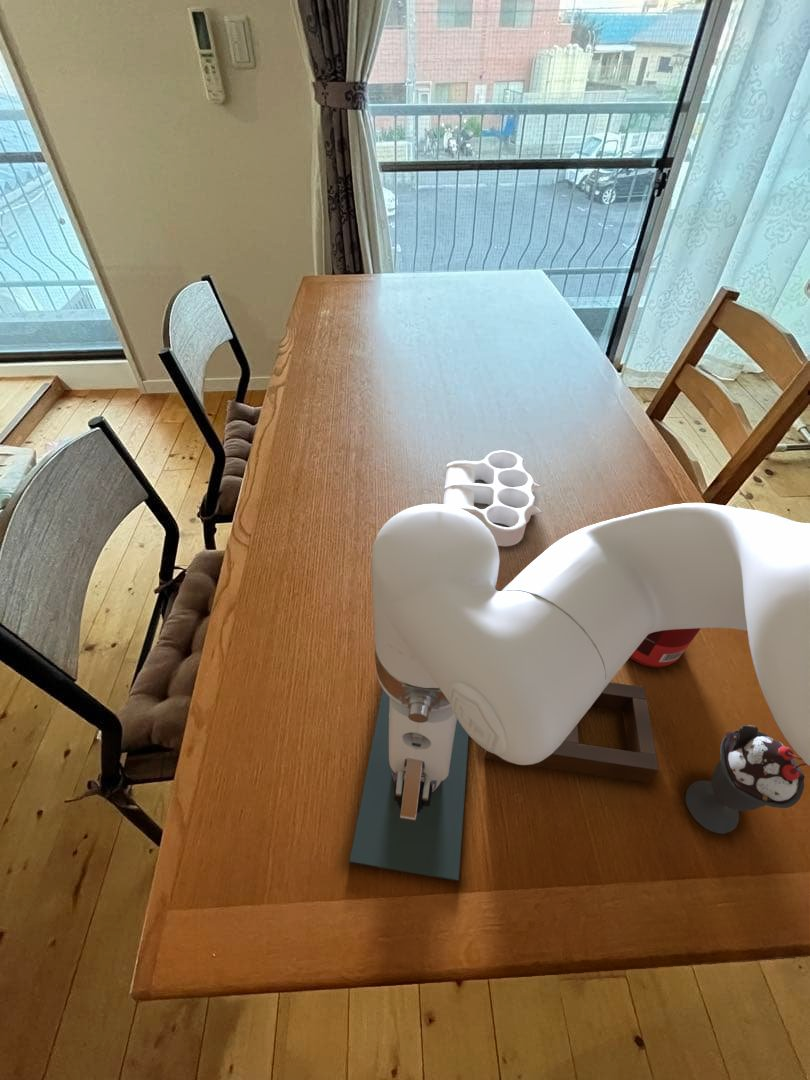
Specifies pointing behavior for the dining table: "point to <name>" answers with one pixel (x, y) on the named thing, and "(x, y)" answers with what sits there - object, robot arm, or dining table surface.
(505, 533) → the white brass knuckles
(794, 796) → the sundae
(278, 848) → the dining table surface
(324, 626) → the dining table surface
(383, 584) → the robot arm
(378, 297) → the dining table surface
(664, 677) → the dining table surface
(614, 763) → the holder
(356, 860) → the mat
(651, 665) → the canned food
